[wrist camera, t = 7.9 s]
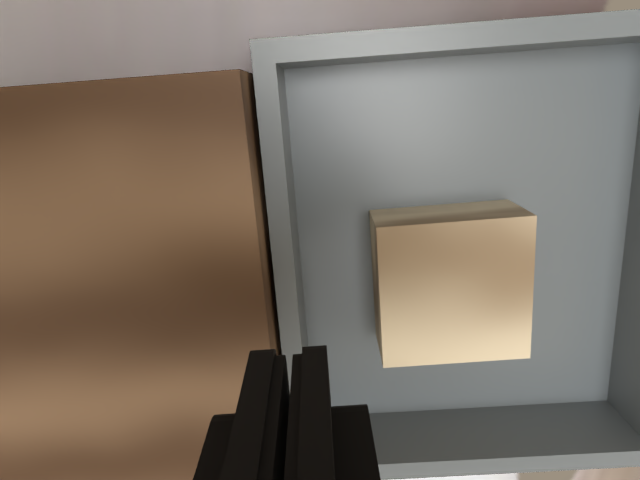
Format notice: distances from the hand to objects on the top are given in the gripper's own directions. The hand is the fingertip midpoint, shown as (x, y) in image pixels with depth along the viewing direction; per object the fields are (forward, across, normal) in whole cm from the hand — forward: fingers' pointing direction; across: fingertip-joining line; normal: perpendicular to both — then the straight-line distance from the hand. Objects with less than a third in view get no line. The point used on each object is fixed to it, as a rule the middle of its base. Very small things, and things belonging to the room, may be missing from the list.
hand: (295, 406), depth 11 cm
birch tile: (+8, -6, +2) cm, 10 cm away
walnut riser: (+13, +9, +1) cm, 16 cm away
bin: (+12, -7, +1) cm, 14 cm away
